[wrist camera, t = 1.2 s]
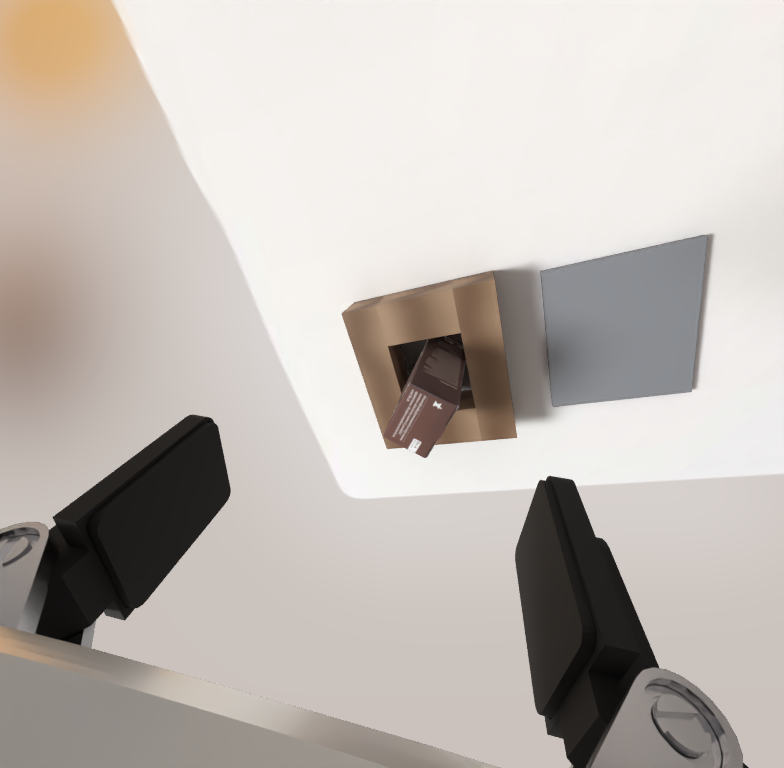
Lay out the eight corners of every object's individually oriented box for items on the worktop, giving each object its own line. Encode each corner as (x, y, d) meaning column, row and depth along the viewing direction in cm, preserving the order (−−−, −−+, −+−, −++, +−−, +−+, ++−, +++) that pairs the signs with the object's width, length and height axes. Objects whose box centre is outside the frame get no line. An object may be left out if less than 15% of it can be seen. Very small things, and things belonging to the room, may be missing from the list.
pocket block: (492, 270, 32) (494, 279, 29) (513, 416, 39) (517, 437, 35) (354, 302, 36) (341, 313, 33) (394, 428, 43) (386, 449, 40)
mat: (703, 235, 28) (707, 235, 27) (688, 388, 33) (691, 391, 33) (540, 271, 31) (541, 272, 31) (552, 404, 37) (553, 406, 37)
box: (429, 328, 36) (409, 382, 26) (468, 347, 36) (465, 408, 26) (406, 374, 39) (380, 438, 29) (442, 391, 39) (429, 462, 29)
